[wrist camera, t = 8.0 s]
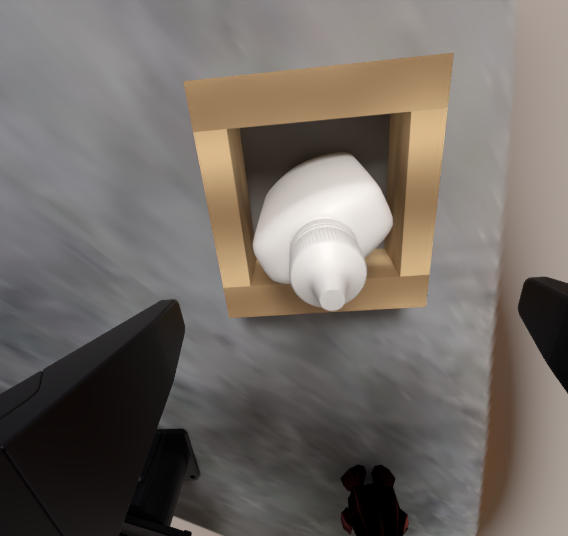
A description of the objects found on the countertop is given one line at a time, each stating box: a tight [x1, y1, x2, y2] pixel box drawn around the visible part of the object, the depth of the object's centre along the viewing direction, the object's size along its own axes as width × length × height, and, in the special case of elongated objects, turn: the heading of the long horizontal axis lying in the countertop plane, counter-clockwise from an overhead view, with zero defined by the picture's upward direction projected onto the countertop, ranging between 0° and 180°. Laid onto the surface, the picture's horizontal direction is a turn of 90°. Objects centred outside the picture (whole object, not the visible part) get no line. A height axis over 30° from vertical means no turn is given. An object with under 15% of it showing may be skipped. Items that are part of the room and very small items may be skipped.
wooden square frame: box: [183, 53, 454, 318], centre depth 19 cm, size 12×11×4 cm
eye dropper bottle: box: [253, 152, 393, 311], centre depth 15 cm, size 4×6×12 cm
